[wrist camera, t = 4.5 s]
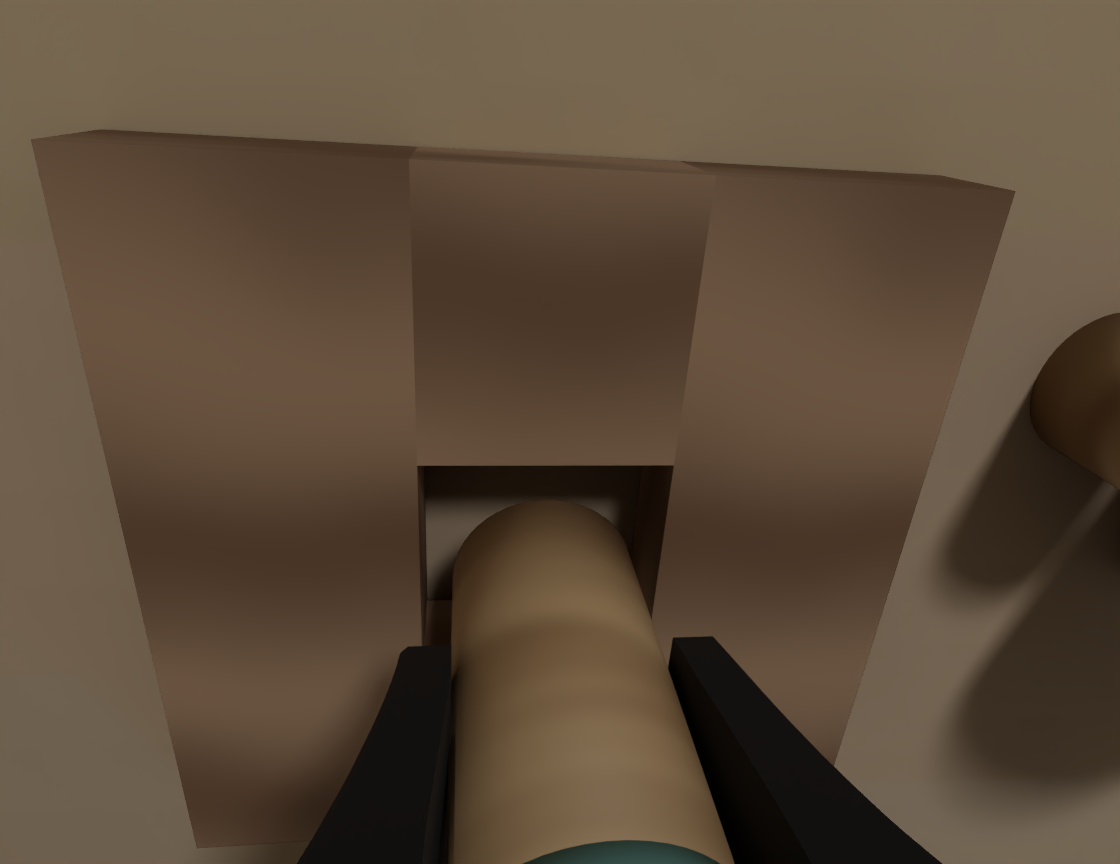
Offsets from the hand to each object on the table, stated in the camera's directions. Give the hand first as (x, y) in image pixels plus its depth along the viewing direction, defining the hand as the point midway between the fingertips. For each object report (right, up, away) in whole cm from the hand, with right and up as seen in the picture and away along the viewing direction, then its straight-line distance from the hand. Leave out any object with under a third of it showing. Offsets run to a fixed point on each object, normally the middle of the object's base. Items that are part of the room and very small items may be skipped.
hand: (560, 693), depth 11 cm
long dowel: (0, +1, +2) cm, 3 cm away
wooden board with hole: (-1, +2, +4) cm, 5 cm away
